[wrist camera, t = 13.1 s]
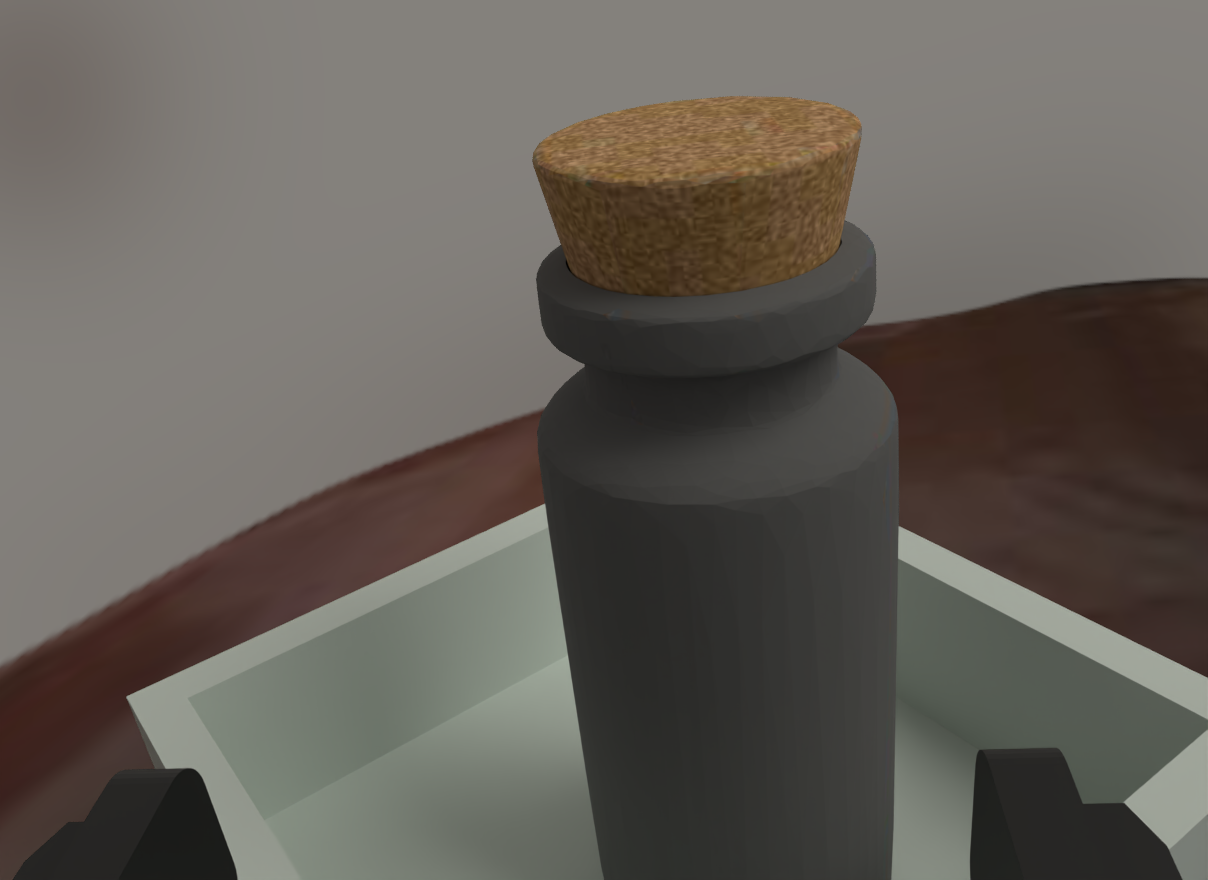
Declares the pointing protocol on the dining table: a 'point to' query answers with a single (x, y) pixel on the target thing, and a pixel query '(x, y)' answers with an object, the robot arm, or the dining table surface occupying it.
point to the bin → (552, 738)
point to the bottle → (722, 491)
